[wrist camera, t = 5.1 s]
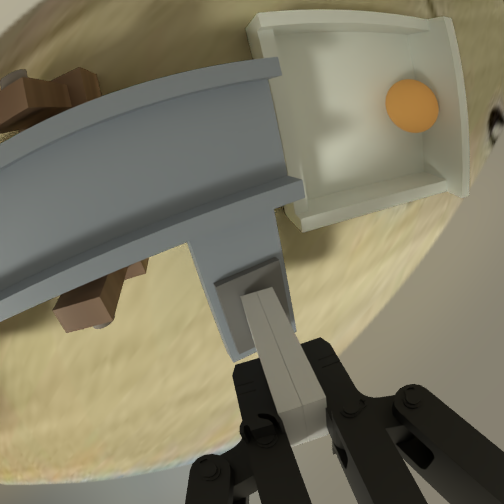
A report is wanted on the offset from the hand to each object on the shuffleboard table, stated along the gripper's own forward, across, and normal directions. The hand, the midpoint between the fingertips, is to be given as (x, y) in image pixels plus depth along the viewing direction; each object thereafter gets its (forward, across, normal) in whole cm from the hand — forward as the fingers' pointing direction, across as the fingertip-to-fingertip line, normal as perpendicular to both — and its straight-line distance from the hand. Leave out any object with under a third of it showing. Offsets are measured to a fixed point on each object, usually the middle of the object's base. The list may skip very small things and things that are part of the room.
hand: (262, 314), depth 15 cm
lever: (0, -7, +4) cm, 8 cm away
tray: (+6, +9, +8) cm, 13 cm away
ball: (+4, +12, +8) cm, 15 cm away
